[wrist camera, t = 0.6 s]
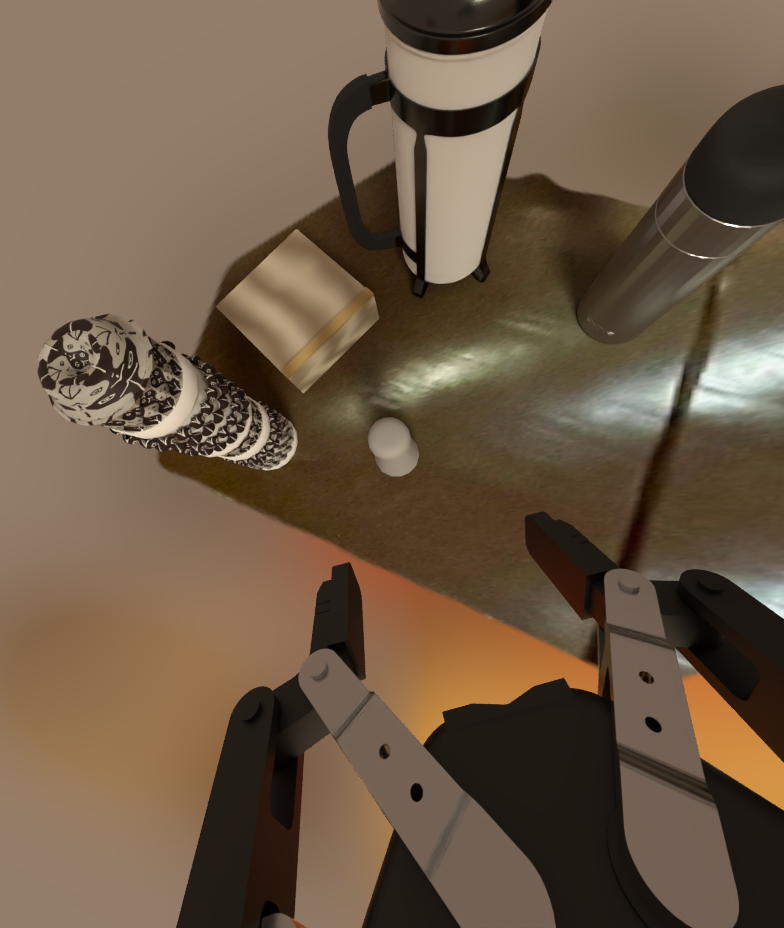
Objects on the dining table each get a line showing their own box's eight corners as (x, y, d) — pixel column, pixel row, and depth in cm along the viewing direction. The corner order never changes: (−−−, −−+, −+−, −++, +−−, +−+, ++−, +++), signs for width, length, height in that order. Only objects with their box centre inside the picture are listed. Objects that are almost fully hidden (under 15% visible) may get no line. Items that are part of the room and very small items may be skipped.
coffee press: (426, 197, 47) (434, -337, 17) (513, 245, 44) (701, -289, 14) (359, 281, 46) (245, -129, 16) (444, 335, 43) (492, -38, 14)
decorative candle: (229, 457, 44) (-19, 394, 19) (259, 402, 45) (57, 273, 20) (281, 483, 42) (86, 452, 18) (310, 426, 43) (163, 321, 19)
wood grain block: (309, 257, 47) (295, 226, 42) (379, 318, 44) (373, 293, 39) (237, 327, 47) (213, 304, 41) (303, 393, 44) (287, 377, 39)
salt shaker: (370, 466, 41) (347, 449, 29) (389, 430, 42) (374, 397, 29) (407, 485, 41) (400, 476, 28) (426, 448, 41) (428, 422, 28)
